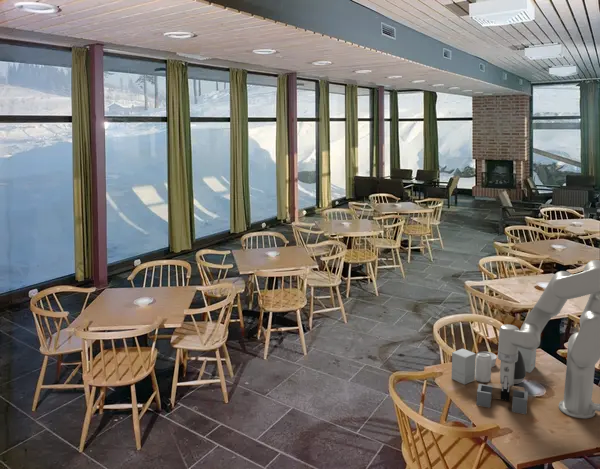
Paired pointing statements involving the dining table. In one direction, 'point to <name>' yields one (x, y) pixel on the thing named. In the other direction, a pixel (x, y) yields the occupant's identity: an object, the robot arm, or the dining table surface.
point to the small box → (528, 358)
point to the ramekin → (493, 359)
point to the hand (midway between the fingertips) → (505, 396)
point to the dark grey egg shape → (519, 369)
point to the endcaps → (517, 405)
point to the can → (483, 367)
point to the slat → (498, 387)
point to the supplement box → (463, 366)
